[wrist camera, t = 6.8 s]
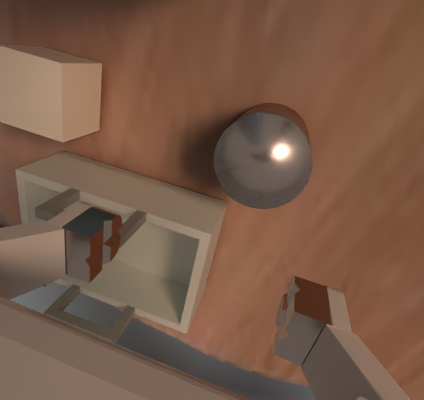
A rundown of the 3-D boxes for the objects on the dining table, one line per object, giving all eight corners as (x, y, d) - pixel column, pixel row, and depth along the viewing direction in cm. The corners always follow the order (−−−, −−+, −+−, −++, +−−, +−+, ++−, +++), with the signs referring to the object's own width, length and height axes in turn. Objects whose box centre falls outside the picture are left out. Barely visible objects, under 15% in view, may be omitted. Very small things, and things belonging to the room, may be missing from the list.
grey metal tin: (321, 114, 22) (328, 129, 17) (293, 188, 25) (292, 220, 20) (241, 94, 23) (225, 102, 18) (223, 167, 26) (205, 193, 21)
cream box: (102, 63, 25) (61, 63, 21) (99, 130, 28) (62, 142, 24) (42, 46, 26) (-9, 43, 22) (45, 113, 29) (0, 122, 25)
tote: (228, 202, 28) (196, 264, 19) (204, 290, 33) (171, 370, 24) (64, 150, 30) (-29, 185, 21) (67, 241, 35) (-7, 297, 27)
